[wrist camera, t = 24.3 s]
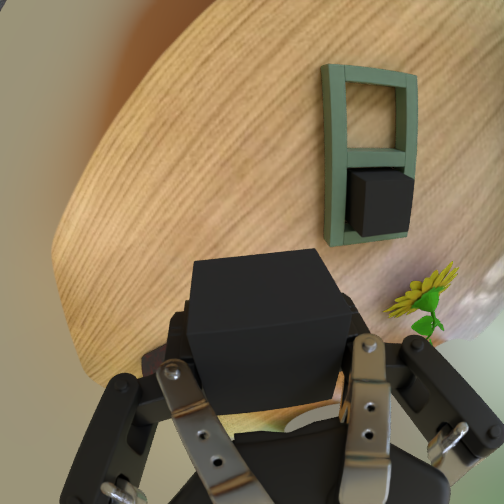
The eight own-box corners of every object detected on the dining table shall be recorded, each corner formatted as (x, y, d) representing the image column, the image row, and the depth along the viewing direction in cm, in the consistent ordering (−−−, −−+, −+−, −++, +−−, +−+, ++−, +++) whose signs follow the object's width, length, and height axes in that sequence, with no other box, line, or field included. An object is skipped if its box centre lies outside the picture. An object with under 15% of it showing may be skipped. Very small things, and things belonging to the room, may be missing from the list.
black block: (211, 345, 15) (212, 416, 11) (193, 260, 13) (185, 334, 9) (309, 333, 16) (332, 399, 12) (315, 247, 13) (353, 312, 9)
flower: (367, 358, 52) (471, 256, 31) (383, 395, 46) (503, 306, 26) (316, 372, 48) (424, 260, 27) (332, 415, 42) (465, 328, 21)
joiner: (323, 238, 30) (329, 247, 28) (320, 65, 22) (328, 63, 20) (398, 229, 31) (407, 237, 29) (406, 75, 22) (417, 75, 20)
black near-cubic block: (343, 218, 29) (361, 238, 25) (345, 168, 27) (365, 181, 23) (387, 214, 30) (408, 232, 26) (390, 166, 27) (415, 179, 23)
